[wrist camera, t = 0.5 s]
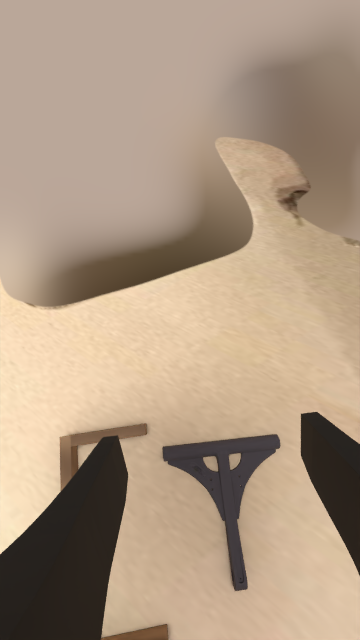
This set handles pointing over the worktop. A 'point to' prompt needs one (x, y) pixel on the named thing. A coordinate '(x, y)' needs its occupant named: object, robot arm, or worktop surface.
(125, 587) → the worktop surface
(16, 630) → the robot arm
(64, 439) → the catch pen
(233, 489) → the bracket
